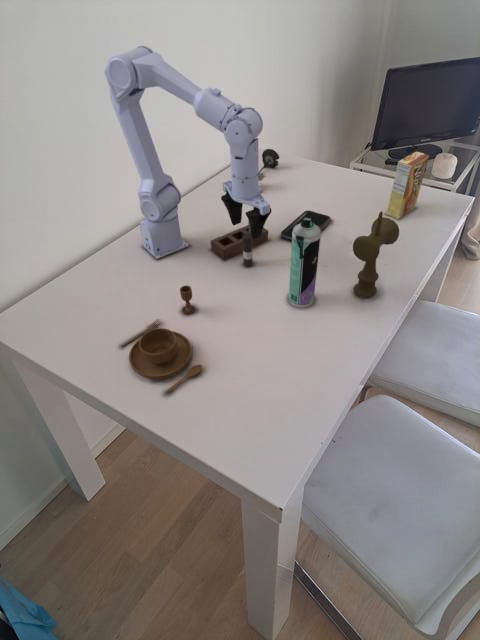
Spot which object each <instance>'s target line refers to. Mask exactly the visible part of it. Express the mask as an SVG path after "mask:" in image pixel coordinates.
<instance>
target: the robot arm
mask: <svg viewBox="0 0 480 640" xmlns="http://www.w3.org/2000/svg"><path fill="white" fill-rule="evenodd" d="M103 73H104V76H105V78H106V81H107V83H108V86H109V98H110V102H111V104H112V107H113V110H114V112H115V115H116V118H117V120H118V123H119V126H120V128H121V131H122V133H123V135H124V138H125V141H126V144H127V147H128V149H129V151H130V154H131V157H132V159H133V162H134V166H135V168H136V170H137V173H138V175H139V178H140V184H139V187H138V189H137V190H138V191H137V196H138V199H139V209H140V211H141V214H142V215H143V216H144V218H145V219H143V220H141V221H140V222H139V229H140V234H141V237H142V242H143V244H142V246H143V248H144V249H146V250H147V251H148V253H150V254H151V255H152V256H153V257H154V258H155V259H161V258H163V257H166V256H168V255H171V254H173V253H175V252H179V251H180V250H183V249H186V248H187V247H189V243H187V241H185V240H184V239H183V238H182V233H181V227H180V220H179V214H178V213H179V212H178V210H179V206H178V205H179V204H180V203H181V201H182V193H181V191H180V189H179V188H178V187H177V185H176V184H175V182H174V180H173V177H172V176H171V175H168V174H167V173H164V170H163V167H162V164H161V161H160V158H159V156H158V152H157V150H156V147H155V143H154V141H153V138H152V135H151V132H150V130H149V126H148V123H147V121H146V117H145V115H144V112H143V109H142V107H141V103H140V101H141V99H142V97H143V95H144V92H145V90H146V89H149V88H155V87H159V88H161V89H162V90H164V91H166V92H168V93H169V94H171V95H173V96H175V97H176V98H178V99H180V100H182V101H183V102H185V103H187V104H188V105H190V106H192V107H193V109H194V114H195V115H196V117H198V118H200V120H202V121H203V122H205V123H206V124H209V126H211V127H212V128H215V130H217V131H219V132H220V133H222V134H223V137H224V139H225V141H226V143H227V144H228V145H229V153H230V175H231V180H228V181H224V182H222V191H223V192H224V193H225V194H224V195H221V197H220V199H221V201H222V203H223V204H224V206H225V209H226V210H227V213H228V215H229V218H230V222H231V225H232V226H236V225H239V224H241V223H242V219H243V218H242V217H243V205H246V206H250V207H252V208H253V209H250V210H248V211H245V216H246V218H247V220H248V224H249V223H250V229H251V236H252V238H253V239H256V238H258V237H261V234H262V230H263V228H265V227H264V226H265V224H266V222H267V220H268V218H269V217H270V215H271V214H272V208H271V203H269V202H268V201H267V200H266V199H265V197H264V196H263V195H262V192H263V189H262V188H261V187H260V188H259V186H260V183H259V182H260V181H259V171H260V170H259V168H260V167H259V157H260V156H259V154H260V153H259V138H258V137H259V136H260V135H261V133H262V132H263V128H264V122H263V118H262V116H261V114H260V113H259V112H258V111H257V110H256V109H255V108H254V107H252V106H245V107H243V106H242V105H241V104H240V103H235V102H233V101H232V100H230V99H229V98H227V97H226V96H224V95H223V94H221V93H222V90H221V89H219V88H217V87H215V88H212V87H208V88H204V89H202V88H201V87H200V86H199V85H197V84H196V83H194V82H193V81H192V80H190V79H189V78H188V77H186V76H185V75H183V74H182V73H181V72H179V71H178V70H177V69H176V68H174V67H173V66H172V65H170V64H169V63H167V62H166V61H165V59H164V58H163V57H162V54H160V53H158V52H157V51H154V50H153V49H152V48H150V47H149V46H147V45H139V46H136V48H134V49H131V50H128V51H125V52H122V53H120V54H114V55H112V56H111V57H110V58H109V59H108V61H107V64H106V66H105V68H104V71H103Z"/></svg>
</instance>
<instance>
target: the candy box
mask: <svg viewBox="0 0 480 640" xmlns="http://www.w3.org/2000/svg"><path fill="white" fill-rule="evenodd" d="M429 158H430V155H429V154H427V153H424V152H420V151H414V152H413V153H411V154H409V155H407V156H405V157H404V158H401V159H400V160H398V162H397V166H396V171H395V174H394V179H393V184H392V188H391V193H390V197H389V202H388V206H387V210H386V215H387V216H390V217H393V218H395V219H397V220H399V219H400V218H402V217H403V216H405V215H407V214H408V213H409V212H411V211H412V210H414V209H416V205H417V201H418V198H419V194H420V191H421V187H422V183H423V179H424V176H425V173H426V169H427V166H428V162H429Z"/></svg>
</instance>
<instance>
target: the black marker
mask: <svg viewBox="0 0 480 640" xmlns="http://www.w3.org/2000/svg"><path fill="white" fill-rule="evenodd" d="M242 238H243V252H242V257H243V258H242V259H243V260H242V261H243V266H244V267H245V268H246V267H247V268H250V267H252V266H253V264H254V263H253V262H254V261H253V260H254V259H253V247H252V236H251V234H244V235H243V236H242Z"/></svg>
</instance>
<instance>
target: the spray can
mask: <svg viewBox="0 0 480 640" xmlns="http://www.w3.org/2000/svg"><path fill="white" fill-rule="evenodd" d="M321 231H322V230H320V228H319V227H318V226H317V225H315V224H314V223H313V222H312V218H311V217H306V218H304V219H303V221H302V222H301V223H300V224H298V225H296V226H295V227H294V228H293V232H292V241H291V251H290V265H289V266H290V267H289V283H288V302H289V304H290V305H292V306H293V307H296V308H299V309H301V308H308V307H310V306H311V305H312V304H313V303H314V299H315V291H316V282H317V273H318V272H317V271H318V264H319V255H320V244H321V236H322V234H321Z"/></svg>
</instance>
